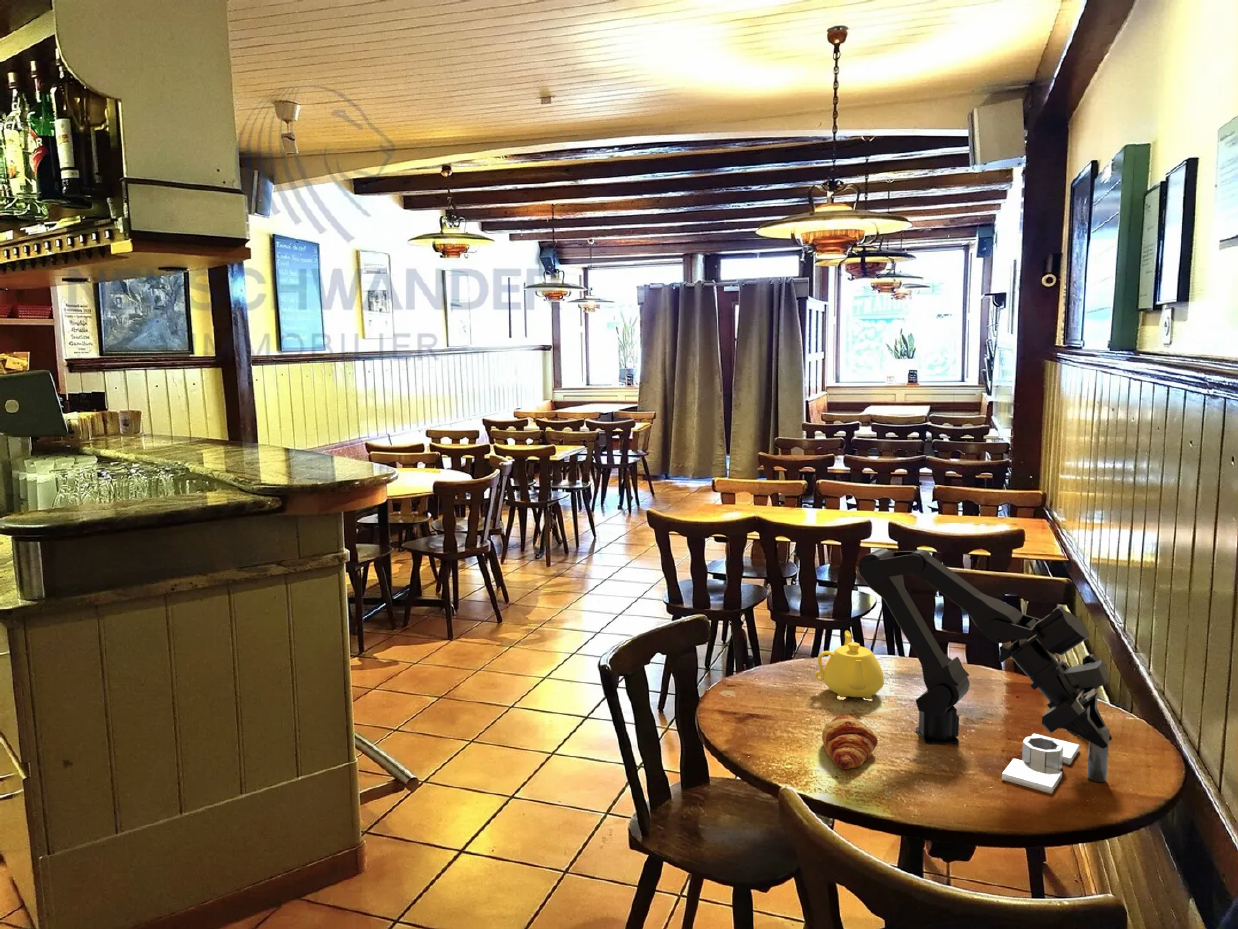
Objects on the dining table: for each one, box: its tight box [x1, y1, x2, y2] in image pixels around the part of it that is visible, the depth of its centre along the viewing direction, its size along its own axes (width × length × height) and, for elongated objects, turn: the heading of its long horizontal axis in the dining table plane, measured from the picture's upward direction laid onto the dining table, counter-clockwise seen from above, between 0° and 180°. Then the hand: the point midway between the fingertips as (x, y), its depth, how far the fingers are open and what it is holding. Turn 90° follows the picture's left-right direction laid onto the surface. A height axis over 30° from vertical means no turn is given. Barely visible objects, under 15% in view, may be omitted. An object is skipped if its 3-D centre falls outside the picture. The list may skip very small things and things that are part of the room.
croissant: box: [821, 714, 879, 770], centre depth 162 cm, size 21×10×8 cm, turn 164°
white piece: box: [1001, 733, 1080, 795], centre depth 156 cm, size 8×20×4 cm, turn 140°
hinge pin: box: [1086, 725, 1111, 783], centre depth 150 cm, size 3×3×9 cm
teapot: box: [814, 630, 885, 699], centre depth 189 cm, size 20×15×12 cm
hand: (1108, 743), depth 149 cm, fingers closed on hinge pin, 3 cm apart
